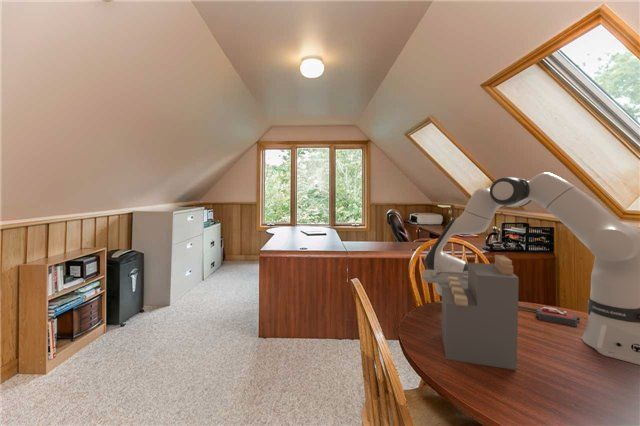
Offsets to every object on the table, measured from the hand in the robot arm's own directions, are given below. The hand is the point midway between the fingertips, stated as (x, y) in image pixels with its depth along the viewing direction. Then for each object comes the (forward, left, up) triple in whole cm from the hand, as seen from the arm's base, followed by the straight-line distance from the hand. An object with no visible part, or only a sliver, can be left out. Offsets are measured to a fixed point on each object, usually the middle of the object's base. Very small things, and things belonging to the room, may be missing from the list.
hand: (451, 272), depth 107 cm
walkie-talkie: (-18, -36, -21) cm, 45 cm away
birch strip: (-8, +10, -3) cm, 13 cm away
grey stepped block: (-14, +11, -20) cm, 27 cm away
